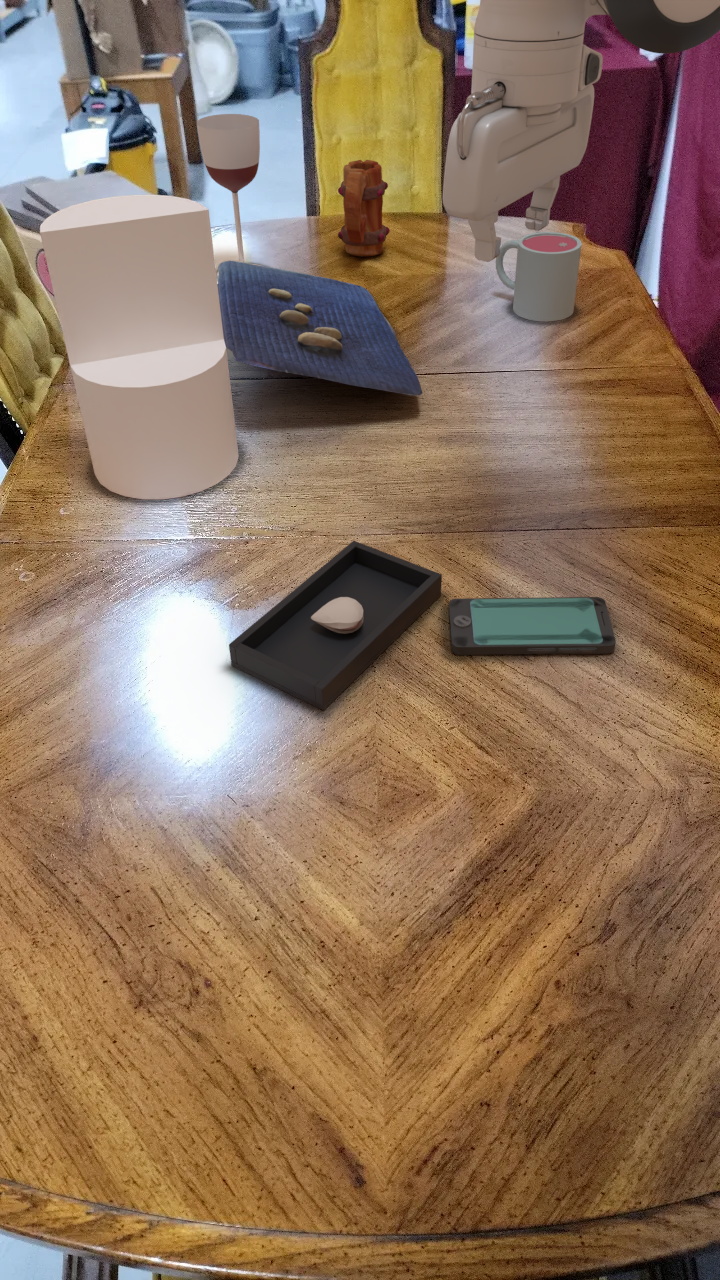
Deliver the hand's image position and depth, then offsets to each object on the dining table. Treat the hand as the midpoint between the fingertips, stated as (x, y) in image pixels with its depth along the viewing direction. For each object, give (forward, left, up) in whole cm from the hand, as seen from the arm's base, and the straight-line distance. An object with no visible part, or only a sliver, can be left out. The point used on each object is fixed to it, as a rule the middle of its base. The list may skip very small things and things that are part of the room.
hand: (512, 242), depth 91 cm
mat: (+42, -21, -29) cm, 55 cm away
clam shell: (+2, +26, -29) cm, 39 cm away
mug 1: (+57, -56, -29) cm, 85 cm away
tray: (+2, +26, -29) cm, 39 cm away
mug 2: (+23, -53, -29) cm, 65 cm away
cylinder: (+38, +12, -29) cm, 49 cm away
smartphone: (-13, +16, -29) cm, 36 cm away
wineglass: (+70, -40, -29) cm, 86 cm away
